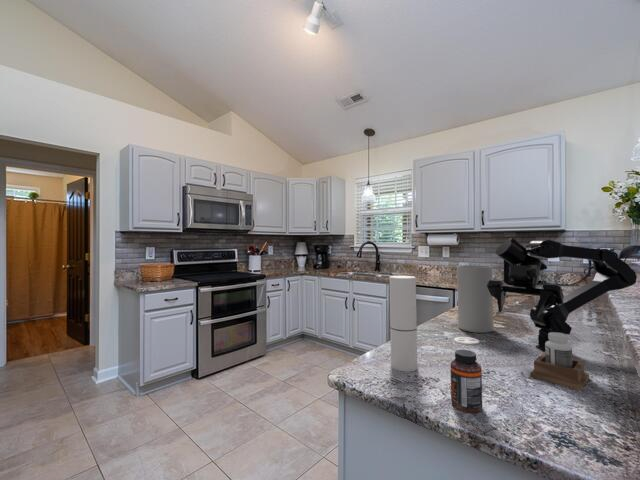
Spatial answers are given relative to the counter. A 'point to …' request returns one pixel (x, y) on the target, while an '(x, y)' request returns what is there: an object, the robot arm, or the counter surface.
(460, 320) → the cylinder vase
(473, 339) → the pendant
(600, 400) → the counter surface
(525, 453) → the counter surface
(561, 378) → the socket block
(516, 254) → the robot arm
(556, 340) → the pill bottle
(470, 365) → the supplement bottle
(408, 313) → the cylindrical container
